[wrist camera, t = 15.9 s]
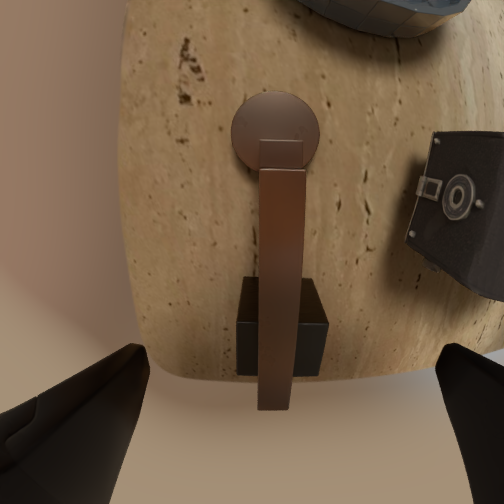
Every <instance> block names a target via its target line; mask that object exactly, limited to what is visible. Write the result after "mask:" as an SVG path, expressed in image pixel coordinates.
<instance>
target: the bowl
mask: <svg viewBox="0 0 504 504" xmlns="http://www.w3.org/2000/svg"><path fill="white" fill-rule="evenodd" d="M297 1H299V2H301V3H303V4H304V5H306V6H308V7H309V8H311V9H312V10H314V11H316V12H317V13H319V14H320V15H322V16H324V17H326V18H329V19H331V20H334V21H336V22H338V23H341V24H343V25H345V26H348V27H350V28H352V29H354V30H359V31H363V32H368V33H372V34H376V35H380V36H384V37H407V38H413V37H416V36H419V35H422V34H424V33H427V32H430V31H432V30H433V29H435V28H437V27H438V26H440V25H441V24H443V23H445V22H446V21H448V20H450V19H451V18H453V17H455V16H456V15H458V14H460V13H462V12H463V11H464V10H465V8H466V7H467V6H468V4H469V3H470V1H471V0H297Z"/></svg>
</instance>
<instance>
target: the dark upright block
mask: <svg viewBox="0 0 504 504" xmlns="http://www.w3.org/2000/svg"><path fill="white" fill-rule="evenodd" d="M258 325H259V277H246V276H244V277H243V282H242V289H241V295H240V301H239V308H238V314H237V321H236V373H237V375H242V376H258ZM328 327H329V322H328V319H327V317H326V314H325V311H324V309H323V306H322V303H321V301H320V298H319V295H318V293H317V290H316V288H315V285H314V282H313V280H312V279H308V278H302V280H301V294H300V306H299V318H298V329H297V340H296V350H295V359H294V368H293V377H309V376H318V375H319V371H320V366H321V362H322V357H323V352H324V347H325V342H326V337H327V332H328Z"/></svg>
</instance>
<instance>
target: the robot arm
mask: <svg viewBox="0 0 504 504" xmlns="http://www.w3.org/2000/svg"><path fill="white" fill-rule="evenodd" d="M435 371H436V375H437V378H438V381H439V385H440V388H441V391H442V395H443V399H444V403H445V406H446V409H447V412H448V415H449V418H450V421H451V424H452V427H453V429H454V432H455V435H456V438H457V442H458V445H459V448H460V451H461V455H462V458H463V462H464V465H465V469H466V472H467V476H468V480H469V484H470V488H471V493H472V498H473V503H474V504H504V366H502V365H500V364H498V363H496V362H494V361H492V360H490V359H488V358H486V357H483V356H482V355H480V354H478V353H476V352H474V351H472V350H470V349H468V348H465V347H463V346H461V345H459V344H457V343H450V344H446V345H445V346H444V347H443V349H442V351H441V354H440V356H439V358H438V360H437V363H436V366H435ZM149 375H150V366H149V361H148V357H147V353H146V349H145V347H144V346H143V345H140V344H134V343H130V344H128V345H126V346H125V347H123V348H121V349H119V350H118V351H116V352H114V353H112V354H111V355H109V356H107V357H105V358H104V359H102V360H100V361H99V362H97V363H95V364H93V365H92V366H89V367H88V368H86V369H84V370H83V371H81V372H79V373H77V374H75V375H73V376H72V377H70V378H68V379H66V380H64V381H63V382H61V383H59V384H57V385H56V386H54V387H52V388H50V389H48V390H46V391H45V392H43V393H41V394H39V395H38V397H33V398H32V399H30V400H28V401H26V402H24V403H22V404H20V405H18V406H16V407H14V408H12V409H10V410H8V411H6V412H3V413H1V414H0V504H109V503H110V499H111V496H112V493H113V490H114V487H115V484H116V481H117V478H118V475H119V472H120V469H121V466H122V463H123V460H124V457H125V455H126V452H127V449H128V446H129V443H130V441H131V438H132V435H133V432H134V430H135V427H136V424H137V421H138V418H139V415H140V411H141V407H142V403H143V398H144V395H145V391H146V386H147V382H148V379H149Z"/></svg>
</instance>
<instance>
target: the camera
mask: <svg viewBox="0 0 504 504" xmlns="http://www.w3.org/2000/svg"><path fill="white" fill-rule="evenodd" d="M416 195H418V198H417V201H416V205H415V208H414V211H413V214H412V217H411V220H410V223H409V226H408V229H407V232H406V235H405V243H407V245H408V246H409V247H411V248H412V249H413V250H415V251H416V252H418V253H420V254H421V255H423V256H424V257H425V258H424V260H423V263H422V265H423V266H424V267H425V268H427V269H429V270H431V271H434V272H436V273H438V272H440V270H441V269H442V270H443V271H445V272H446V273H447V274H449V275H450V276H451V277H453V278H454V279H455V280H456V281H458V282H459V283H460V284H462V285H463V286H465V287H467V288H468V289H470V290H471V291H473V292H474V293H476V294H478V295H480V296H483V297H486V298H489V299H492V300H497V301H501V302H504V132H492V131H448V132H433V134H432V137H431V142H430V147H429V152H428V157H427V162H426V166H425V171H424V175H423V176H420V179H419V183H418V187H417V191H416Z"/></svg>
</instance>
